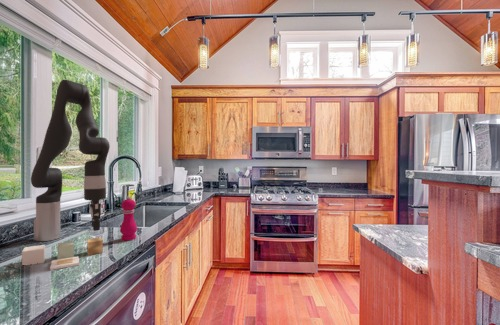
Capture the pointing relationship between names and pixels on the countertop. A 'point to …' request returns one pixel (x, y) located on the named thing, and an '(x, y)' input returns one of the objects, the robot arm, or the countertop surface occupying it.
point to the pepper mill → (128, 220)
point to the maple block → (94, 246)
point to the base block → (33, 255)
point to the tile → (64, 263)
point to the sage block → (65, 250)
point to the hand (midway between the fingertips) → (95, 228)
